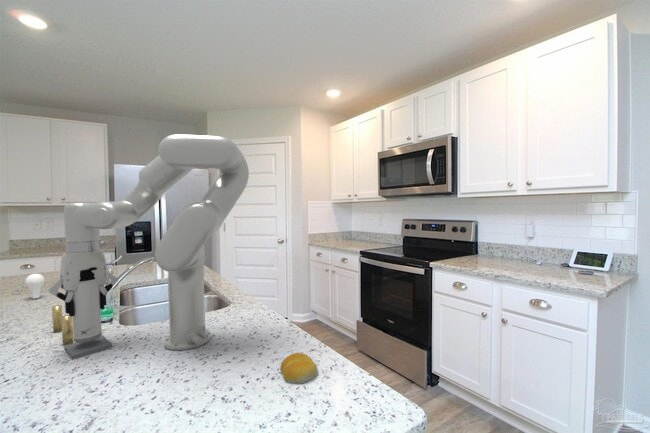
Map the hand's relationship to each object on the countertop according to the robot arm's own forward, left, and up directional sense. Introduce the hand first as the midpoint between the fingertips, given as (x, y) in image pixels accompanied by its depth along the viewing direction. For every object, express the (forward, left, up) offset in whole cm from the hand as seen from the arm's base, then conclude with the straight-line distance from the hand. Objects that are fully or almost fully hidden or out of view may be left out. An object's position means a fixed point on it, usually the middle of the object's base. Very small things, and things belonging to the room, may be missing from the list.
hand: (86, 311), depth 88 cm
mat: (0, 0, -11) cm, 11 cm away
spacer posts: (+15, 0, -11) cm, 19 cm away
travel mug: (0, 0, -8) cm, 8 cm away
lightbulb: (+75, +2, -11) cm, 76 cm away
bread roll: (-55, -28, -11) cm, 63 cm away
